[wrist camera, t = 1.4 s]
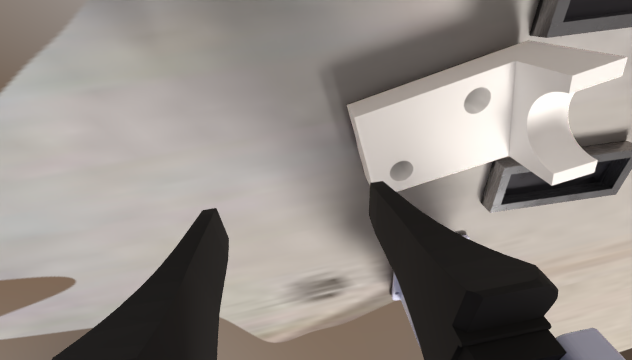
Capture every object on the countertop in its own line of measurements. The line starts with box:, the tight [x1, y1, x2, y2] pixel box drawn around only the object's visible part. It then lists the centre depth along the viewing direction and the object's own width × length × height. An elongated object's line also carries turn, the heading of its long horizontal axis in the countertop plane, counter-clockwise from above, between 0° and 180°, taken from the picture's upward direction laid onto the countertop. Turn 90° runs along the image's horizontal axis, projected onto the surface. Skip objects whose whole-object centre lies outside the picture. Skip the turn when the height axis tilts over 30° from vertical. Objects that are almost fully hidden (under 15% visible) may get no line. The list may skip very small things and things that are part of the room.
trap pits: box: [481, 0, 632, 213], centre depth 22 cm, size 20×12×2 cm, turn 6°
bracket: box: [347, 40, 627, 192], centre depth 19 cm, size 13×7×8 cm, turn 109°
